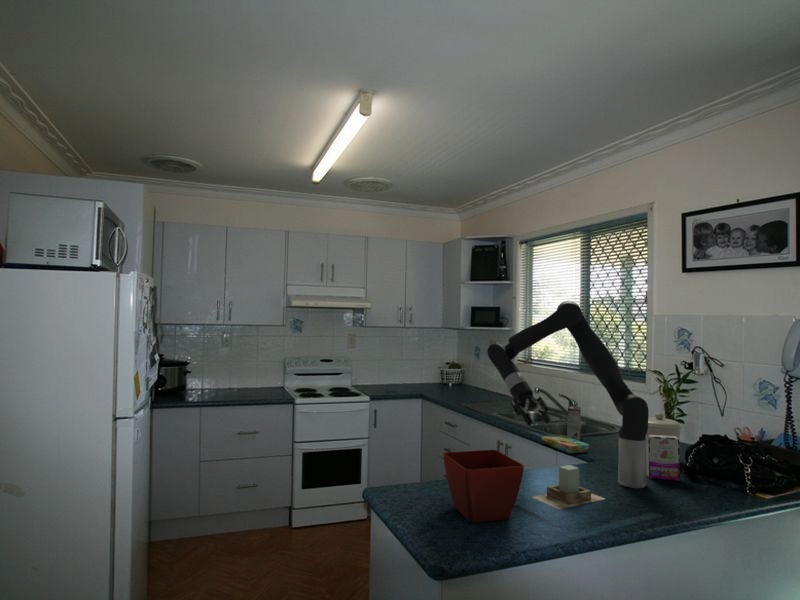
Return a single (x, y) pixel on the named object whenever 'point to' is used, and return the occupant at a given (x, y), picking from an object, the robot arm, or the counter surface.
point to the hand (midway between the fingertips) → (539, 423)
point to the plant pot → (483, 483)
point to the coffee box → (574, 422)
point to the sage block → (569, 479)
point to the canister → (663, 426)
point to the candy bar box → (663, 457)
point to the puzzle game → (566, 444)
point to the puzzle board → (567, 497)
